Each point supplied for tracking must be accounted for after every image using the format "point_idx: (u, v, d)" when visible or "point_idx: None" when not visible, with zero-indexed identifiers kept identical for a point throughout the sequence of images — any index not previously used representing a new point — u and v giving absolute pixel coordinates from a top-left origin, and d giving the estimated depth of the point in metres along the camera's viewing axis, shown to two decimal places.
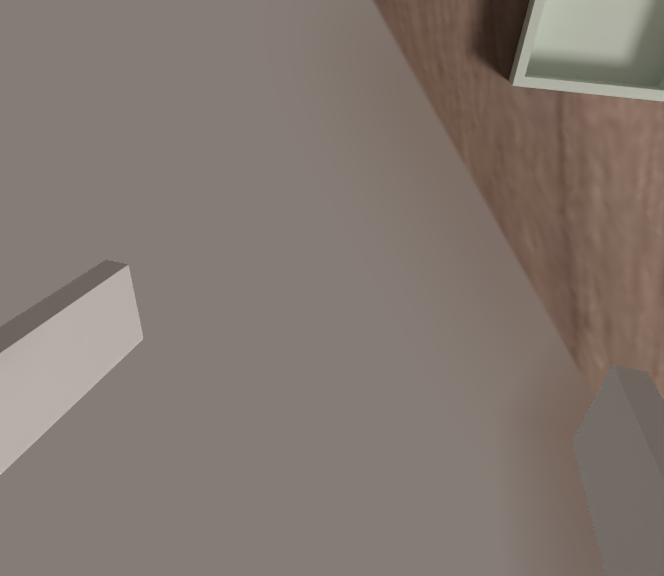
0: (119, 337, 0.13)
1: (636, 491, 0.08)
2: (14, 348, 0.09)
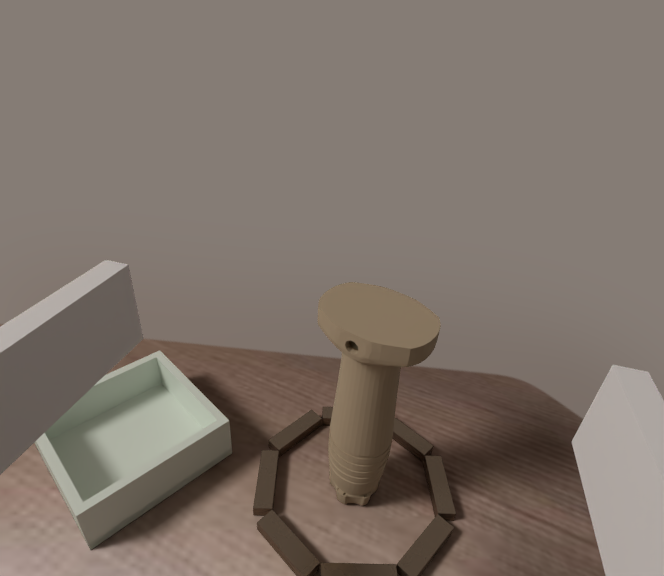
0: (119, 337, 0.13)
1: (636, 491, 0.08)
2: (14, 348, 0.09)
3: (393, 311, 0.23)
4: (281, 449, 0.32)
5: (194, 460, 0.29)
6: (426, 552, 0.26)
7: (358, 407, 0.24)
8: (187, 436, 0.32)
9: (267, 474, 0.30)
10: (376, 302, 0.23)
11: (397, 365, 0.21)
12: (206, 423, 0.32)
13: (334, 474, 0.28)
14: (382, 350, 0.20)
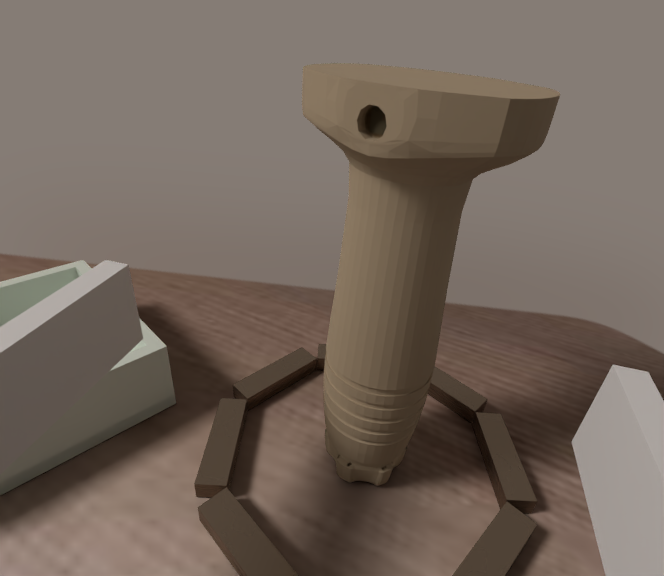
0: (119, 337, 0.13)
1: (636, 491, 0.08)
2: (14, 348, 0.09)
3: (455, 80, 0.11)
4: (251, 399, 0.21)
5: (105, 406, 0.18)
6: (495, 567, 0.15)
7: (380, 287, 0.12)
8: None
9: (225, 432, 0.19)
10: (419, 74, 0.12)
11: (473, 154, 0.09)
12: None
13: (333, 429, 0.16)
14: (443, 110, 0.09)
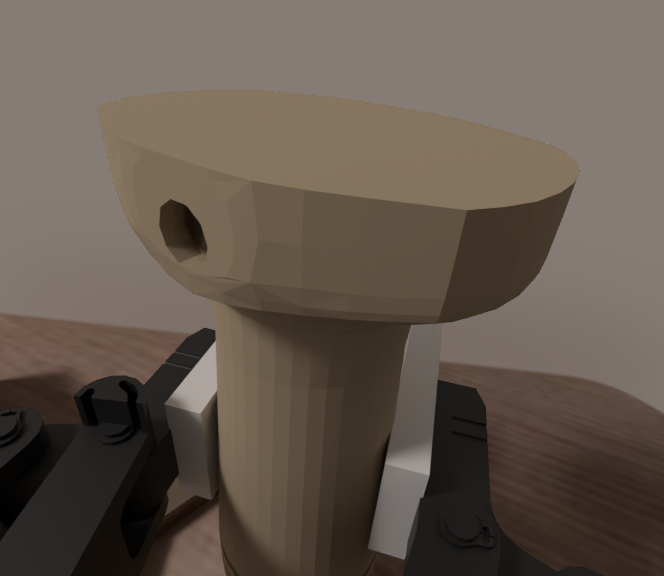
0: None
1: None
2: None
3: (380, 128, 0.06)
4: None
5: None
6: None
7: (266, 474, 0.07)
8: None
9: None
10: (323, 115, 0.07)
11: (391, 315, 0.04)
12: None
13: None
14: (312, 228, 0.04)
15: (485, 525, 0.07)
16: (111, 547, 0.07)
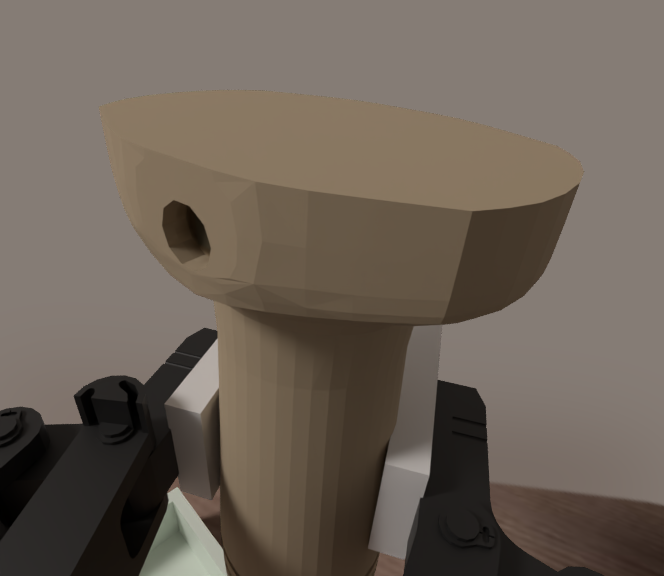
0: None
1: None
2: None
3: (383, 129, 0.06)
4: None
5: None
6: None
7: (268, 475, 0.07)
8: None
9: None
10: (326, 115, 0.07)
11: (395, 317, 0.04)
12: None
13: None
14: (317, 231, 0.04)
15: (485, 525, 0.07)
16: (111, 547, 0.07)
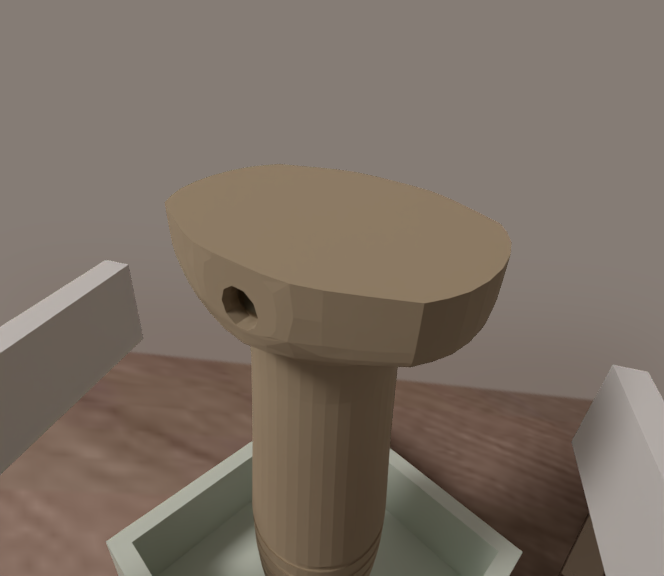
0: (119, 337, 0.13)
1: (636, 491, 0.08)
2: (14, 348, 0.09)
3: (373, 212, 0.08)
4: None
5: None
6: None
7: (294, 467, 0.10)
8: (407, 566, 0.17)
9: None
10: (330, 196, 0.09)
11: (381, 362, 0.06)
12: (447, 543, 0.17)
13: None
14: (329, 312, 0.06)
15: None
16: None
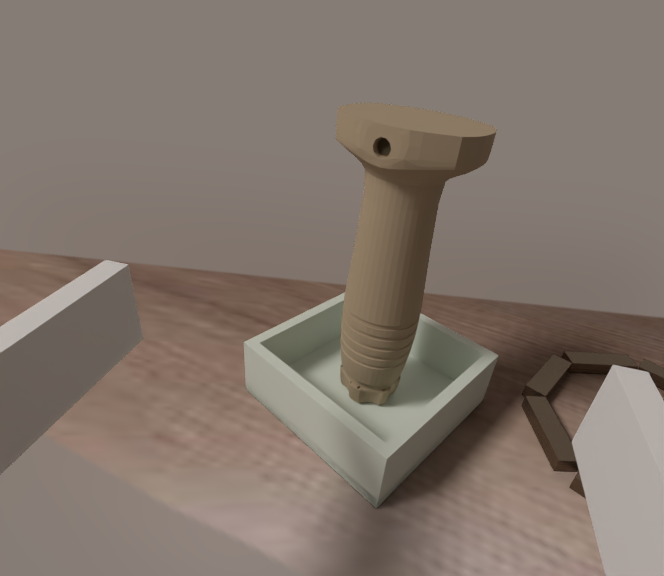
0: (119, 337, 0.13)
1: (636, 491, 0.08)
2: (14, 348, 0.09)
3: (433, 119, 0.18)
4: (545, 396, 0.26)
5: (465, 402, 0.23)
6: None
7: (384, 252, 0.19)
8: (425, 379, 0.26)
9: (550, 422, 0.24)
10: (411, 113, 0.18)
11: (442, 167, 0.16)
12: (451, 363, 0.26)
13: (347, 360, 0.23)
14: (424, 142, 0.15)
15: None
16: None
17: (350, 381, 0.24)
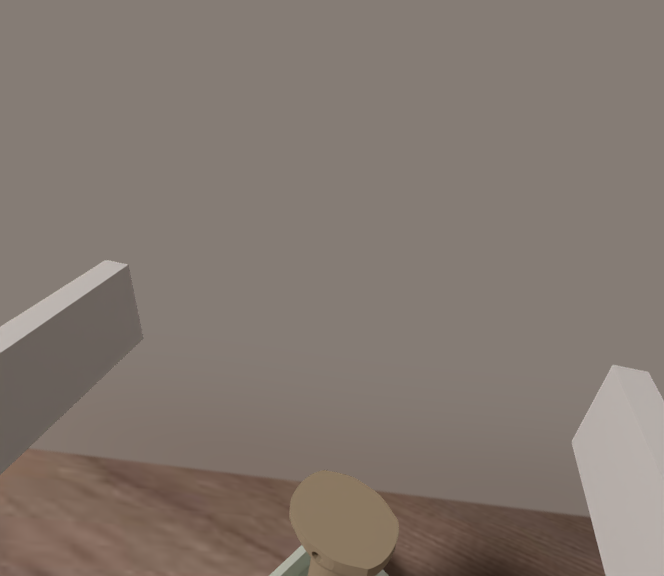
0: (119, 337, 0.13)
1: (636, 490, 0.08)
2: (14, 348, 0.09)
3: (357, 513, 0.25)
4: None
5: None
6: None
7: None
8: None
9: None
10: (343, 500, 0.26)
11: None
12: None
13: None
14: (343, 567, 0.23)
15: None
16: None
17: None
